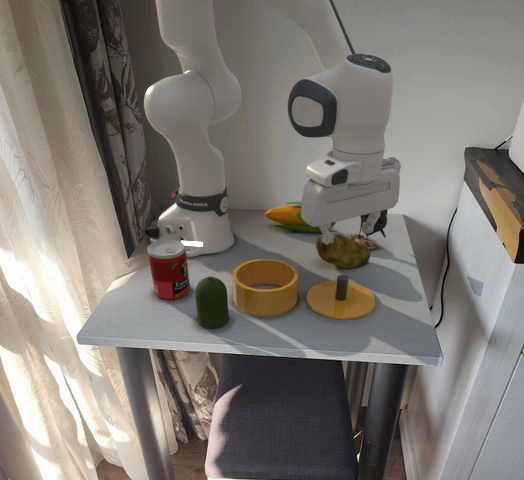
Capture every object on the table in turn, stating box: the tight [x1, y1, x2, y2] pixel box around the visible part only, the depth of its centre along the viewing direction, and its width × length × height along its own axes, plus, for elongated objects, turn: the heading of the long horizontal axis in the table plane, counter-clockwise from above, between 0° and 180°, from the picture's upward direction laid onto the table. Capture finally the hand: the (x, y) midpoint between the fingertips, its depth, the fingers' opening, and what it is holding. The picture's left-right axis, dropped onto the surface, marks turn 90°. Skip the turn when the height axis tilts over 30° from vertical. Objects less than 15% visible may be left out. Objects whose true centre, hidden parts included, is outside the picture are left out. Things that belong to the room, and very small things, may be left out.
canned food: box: [147, 240, 191, 301], centre depth 100 cm, size 8×8×11 cm
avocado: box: [194, 275, 230, 330], centre depth 91 cm, size 6×6×10 cm
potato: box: [315, 231, 371, 269], centre depth 110 cm, size 8×13×8 cm, turn 74°
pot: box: [231, 258, 299, 317], centre depth 99 cm, size 14×14×6 cm
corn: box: [264, 200, 337, 233], centre depth 127 cm, size 7×8×20 cm
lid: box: [305, 274, 376, 321], centre depth 98 cm, size 15×15×6 cm
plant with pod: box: [348, 209, 389, 250], centre depth 114 cm, size 8×11×20 cm
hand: (347, 237), depth 90 cm, fingers open, 8 cm apart
